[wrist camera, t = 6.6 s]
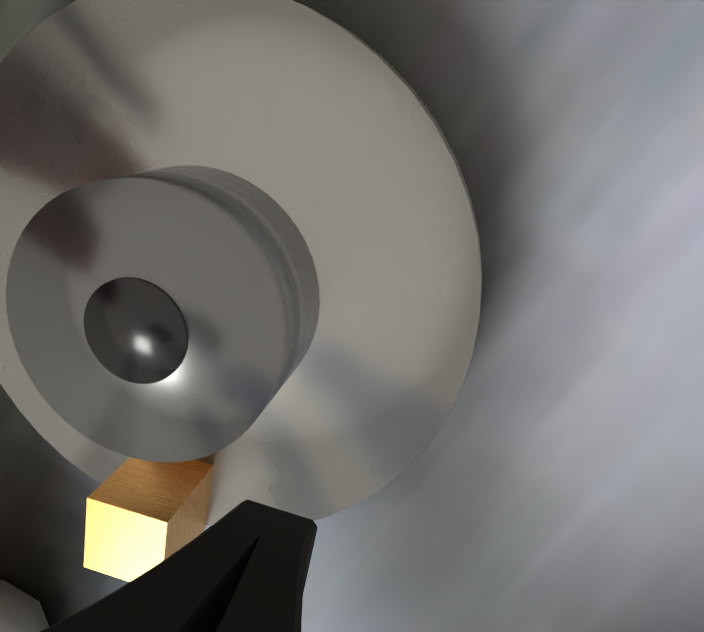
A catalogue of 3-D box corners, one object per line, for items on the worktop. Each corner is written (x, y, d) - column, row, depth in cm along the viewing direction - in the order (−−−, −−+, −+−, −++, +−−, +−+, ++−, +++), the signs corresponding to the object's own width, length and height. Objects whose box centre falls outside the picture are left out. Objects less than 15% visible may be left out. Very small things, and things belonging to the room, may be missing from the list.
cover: (341, 197, 17) (300, 221, 13) (297, 430, 19) (254, 499, 16) (96, 140, 18) (2, 148, 14) (84, 368, 20) (0, 421, 17)
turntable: (553, 42, 16) (570, 22, 12) (414, 565, 21) (394, 668, 17) (-26, -61, 18) (-171, -106, 14) (-16, 434, 24) (-119, 500, 20)
